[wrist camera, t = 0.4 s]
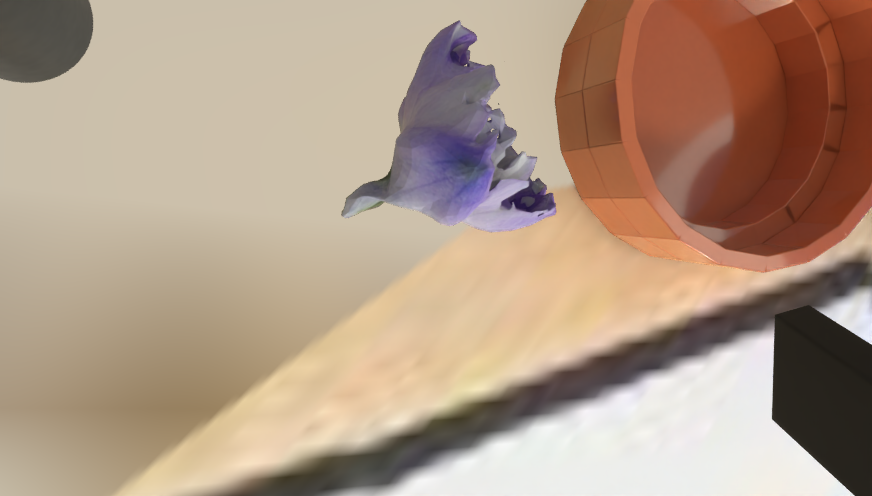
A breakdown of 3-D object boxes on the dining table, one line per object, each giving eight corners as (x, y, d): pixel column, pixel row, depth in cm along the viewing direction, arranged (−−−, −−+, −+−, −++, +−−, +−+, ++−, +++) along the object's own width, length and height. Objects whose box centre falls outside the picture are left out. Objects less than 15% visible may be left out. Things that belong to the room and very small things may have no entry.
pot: (487, 97, 31) (543, 74, 25) (694, -112, 34) (786, -176, 28) (678, 319, 35) (762, 342, 30) (848, 119, 38) (955, 104, 32)
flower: (396, 342, 24) (595, 154, 21) (258, 179, 25) (425, -19, 22) (466, 302, 32) (613, 165, 29) (360, 183, 34) (491, 41, 31)
